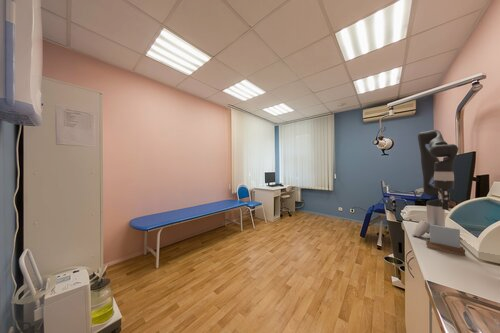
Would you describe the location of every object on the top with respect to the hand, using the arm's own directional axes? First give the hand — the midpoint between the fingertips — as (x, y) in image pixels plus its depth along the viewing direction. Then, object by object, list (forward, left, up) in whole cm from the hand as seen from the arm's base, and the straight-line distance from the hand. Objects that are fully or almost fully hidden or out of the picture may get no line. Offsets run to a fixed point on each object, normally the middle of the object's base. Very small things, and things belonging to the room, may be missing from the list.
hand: (443, 208), depth 95 cm
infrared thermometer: (-23, -1, -25) cm, 34 cm away
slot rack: (0, 0, -24) cm, 24 cm away
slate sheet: (0, 0, -24) cm, 24 cm away
